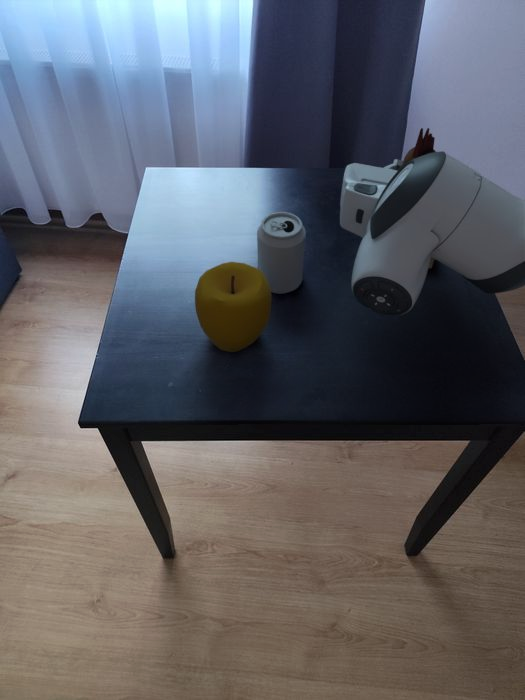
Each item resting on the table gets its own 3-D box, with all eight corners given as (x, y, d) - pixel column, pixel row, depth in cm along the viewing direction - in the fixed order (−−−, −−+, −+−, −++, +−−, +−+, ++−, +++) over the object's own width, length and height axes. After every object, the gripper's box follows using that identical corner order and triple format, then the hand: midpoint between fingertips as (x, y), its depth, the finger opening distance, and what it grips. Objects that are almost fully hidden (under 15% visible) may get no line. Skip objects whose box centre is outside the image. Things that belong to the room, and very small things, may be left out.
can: (302, 297, 79) (307, 239, 69) (257, 296, 79) (256, 238, 69) (301, 266, 83) (305, 208, 74) (258, 266, 84) (257, 207, 74)
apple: (250, 377, 69) (247, 317, 59) (186, 351, 72) (173, 290, 62) (282, 326, 75) (285, 264, 65) (222, 304, 78) (216, 241, 68)
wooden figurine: (394, 229, 75) (418, 137, 64) (379, 209, 79) (399, 118, 67) (433, 222, 77) (463, 130, 65) (416, 202, 80) (442, 111, 68)
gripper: (493, 216, 59) (499, 160, 67) (333, 185, 64) (357, 136, 72) (476, 255, 64) (483, 199, 72) (329, 224, 69) (351, 174, 77)
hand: (419, 167), depth 72 cm, fingers closed on wooden figurine, 5 cm apart
